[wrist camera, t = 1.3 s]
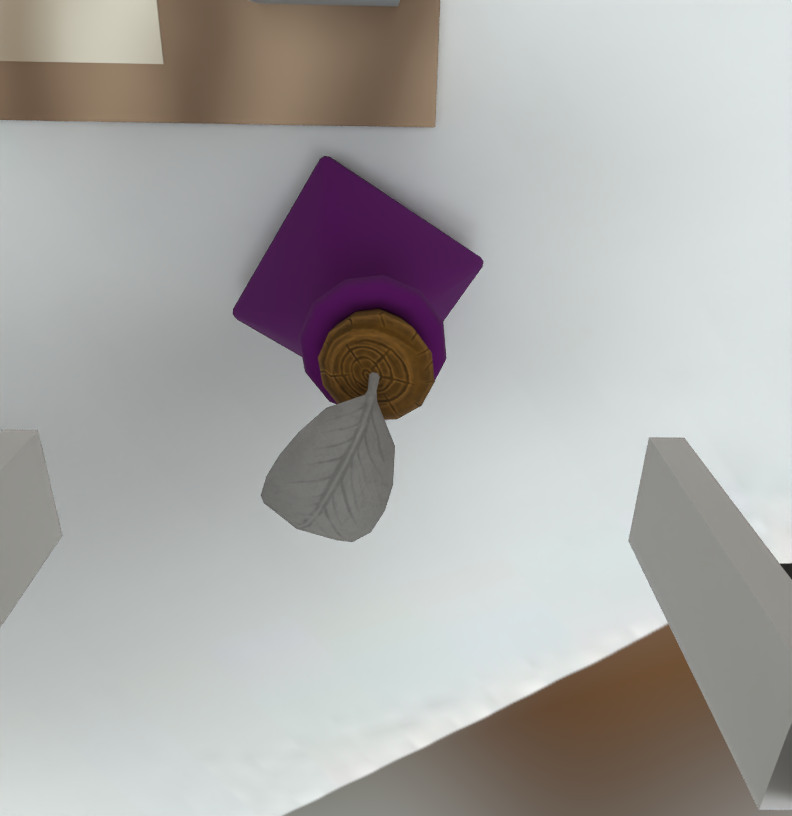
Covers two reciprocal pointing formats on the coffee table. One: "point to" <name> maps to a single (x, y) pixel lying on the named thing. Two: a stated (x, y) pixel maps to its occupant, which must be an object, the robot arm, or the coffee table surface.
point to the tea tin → (332, 2)
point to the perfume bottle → (352, 339)
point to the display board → (219, 62)
